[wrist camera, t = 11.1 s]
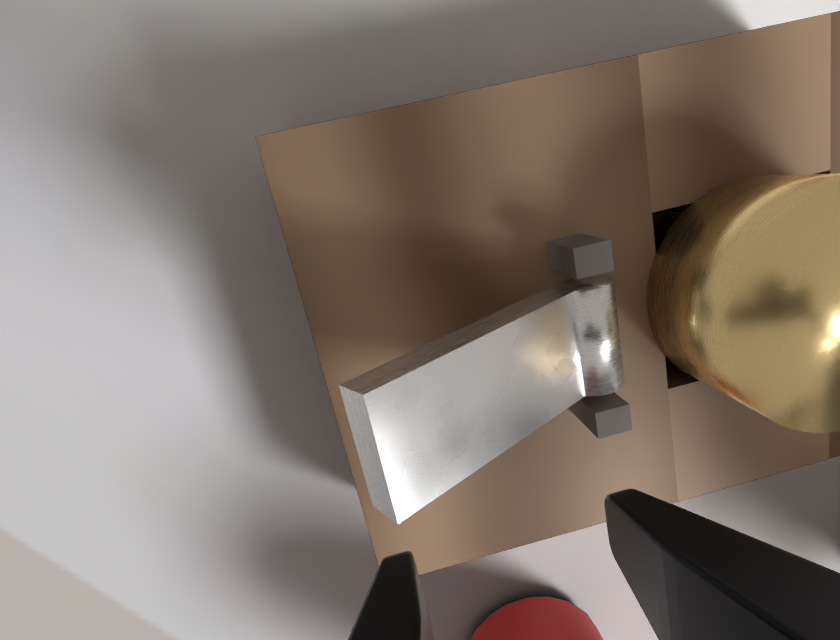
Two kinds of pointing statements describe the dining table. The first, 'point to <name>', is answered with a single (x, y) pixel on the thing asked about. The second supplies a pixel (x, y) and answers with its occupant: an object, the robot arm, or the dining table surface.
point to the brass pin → (755, 295)
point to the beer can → (537, 621)
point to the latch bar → (481, 391)
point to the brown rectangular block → (551, 260)
